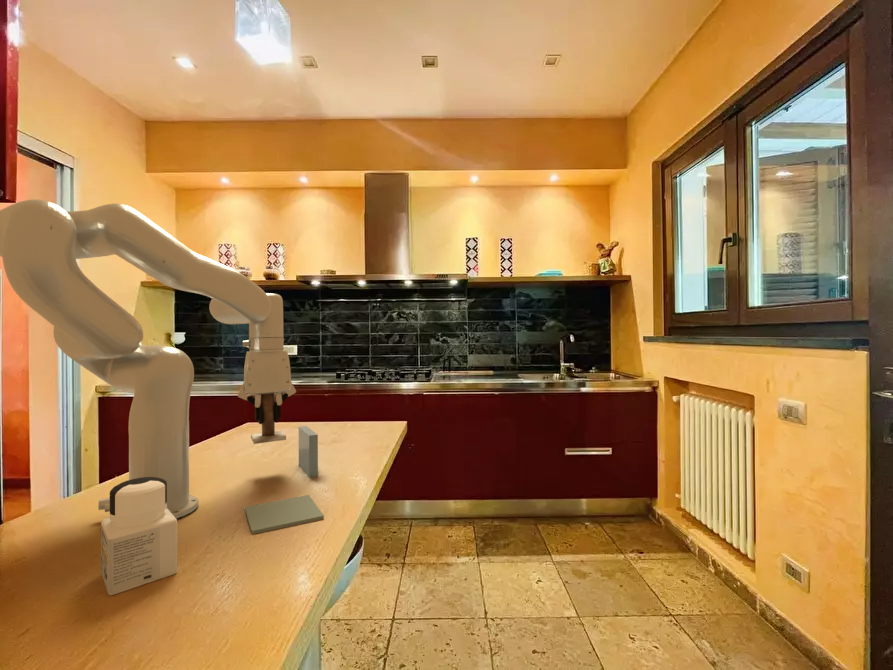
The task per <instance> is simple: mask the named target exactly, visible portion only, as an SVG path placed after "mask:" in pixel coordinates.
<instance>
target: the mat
mask: <svg viewBox="0 0 893 670" xmlns="http://www.w3.org/2000/svg"><path fill="white" fill-rule="evenodd" d="M244 512H245V516H246V518H247V519H246V520H247V522H248V525H249V529H250V533H251V535H255V534H261V533H265V532H269V531H274V530H278V529H285V528H288V527H293V526H297V525H301V524H306V523H307V524H308V523H311V522H316V521H320V520H321V521H322V520H324V518H325V515H324V514H323V513H322V511H321V510H320V508H319V507H318V506H317V504H316V503H315V501H314V500H313V499H312V497H311V496H310V495H309V494H307V495H302V496H295V497H290V498H285V499H279V500H274V501H268V502H263V503H258V504H252V505H248V506H244Z"/></svg>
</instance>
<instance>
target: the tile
mask: <svg viewBox="0 0 893 670" xmlns="http://www.w3.org/2000/svg"><path fill="white" fill-rule="evenodd" d="M318 438H319V435H318V433H316V432H315V431H314V430H312V429H311V427H309V426H307V425H301V426H298V466H299V467H300V469H301V470H302V469H303V470H302V471H303V472H304V473H305V475H306V474H307V475H306V476H307V477H308V478H309V479H310V478H316V477H317V478H318V477H319V452H318V451H319V439H318Z"/></svg>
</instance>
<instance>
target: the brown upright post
mask: <svg viewBox="0 0 893 670" xmlns="http://www.w3.org/2000/svg"><path fill="white" fill-rule="evenodd" d="M274 402H275V396H274V393H270V394H261V402H260V404H261V406H262V407H263V423H262V424H261V432H260V433H251V434H250V439H251V441H252V443H253V444H254V445H256V444H265V443H272V442H280V441H286V440H287V435H286V434H285V432H284V431H282V430H276V429H275V428H276V425H275V423H276V422H274ZM275 430H276V431H275Z"/></svg>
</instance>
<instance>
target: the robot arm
mask: <svg viewBox="0 0 893 670" xmlns="http://www.w3.org/2000/svg"><path fill="white" fill-rule="evenodd" d="M113 255H114V256H115V255H116V256H118V257H119V258H120V259H123V260H124V261H125V262H127V263H129V264H130V265H131V266H134V267H135V268H137V269H138V270H140V271H142V272H143V273H145V274H146V275H148V276H149V277H151V278H153V279H154V280H156V281H158V282H159V283H161V284H162V285H164V286H165V287H169V288H172V289H176V290H179V291H183V292H187V293H192V294H193V293H194V294H197V295H198V294H199V295H202V296H205V297H207V298H210V299H211V300H210V302H209V309H208V310H209V313H210V314H211V316H212V317H213V319H215V320H216V321H217V322H219V323H222V324H225V325H241V324H243V325H245V324H248V335H249V337H248V339H247V340H243V341H242V347H243V348H245V347H246V348H248V349H249V351H246V354H245V358H244V359H245V360H244V365H243V366H244V368H243V370H244V371H243V384H242V386H241V387H240V389H239V391H238V393H237V397H238V398H240V399H242V400H244V401H248V402H249V403H250V404H252V405H253V406H254V413H255V414H254V417H255V421H257V423H258V424H259V425H262V423H263V407H262V405H261V394H270V393H274V422H275V423H279V419H281V414H282V412H281V411H282V409H281V408H282V407H281V406H282V404H283V403H284V402H285V401H286V400H287V399H288V398H289V397H291V396H292V395H294V394H296V393H297V390H296V388H295V386H294V385H293V383H292V374H291V364H290V363H291V362H290V357H289V353H288V350H284V342H285V341H284V340H285V339H284V302H283V301H284V300H283V297H282V296H281V295H280V294H278V293H271V292H270V293H269V292H265V291H264V289H262V288H261V287H260V286H259V285H258V284H256V283H255V282H254V281H252V279H249V278H248V277H247V276H245V275H244V274H242V273H241V272H239V271H237V270H235V269H233V268H232V267H230V266H227V265H225V264H222V263H220V262H218V261H216V260H214V259H211V258H209V257H207V256H204V255H202V254H199V253H197V252H195V251H194V250H193V249H191V248H189V247H188V246H186V245H185V244H184V243H183V242H182V241H179V240H178V239H176V238H175V237H174V236H173V235H172V234H170V233H168V232H167V231H166V230H165V229H164V228H162V227H160V226H159V225H158V224H156V223H155V222H153V221H152V220H151V219H150V218H148V217H147V216H145V215H144V214H143V213H141V212H139V211H138V210H137V209H135V208H133V207H131V206H129V205H127V204H122V203H118V202H117V203H108V204H103V205H99V206H96V207H94V208H91V209H87V210H75V211H74V210H72V211H71V210H70V211H69V210H68V211H66V210H65V209H64V207H61V206H60V205H58V204H57V203H54V202H52V201H48V200H45V199H26V200H21V201H18V202H15V203H12V204H10V205H8V206H6V207H4V208H2V209H0V257H1V258H2V264H3V267H4V272H5V274H6V278H7V280H8V282H9V285H10V286H11V288H12V289H13V291H14V292H15V294H16V295H18V297H19V298H20V299H21V301H23V302H24V303H25V304H26V305H27V306H28V307H29V308H31V309H32V310H33V311H34V312H36V313H37V314H38V315H40V316H41V317H42V318H43V319H45V321H47V322H49V324H50V325H53V330H52V331H53V339H54V342H55V343H56V345H57V346H58V348H59V349H60V350H61V352H63V354H64V355H66V356H67V357H69V358H70V359H71V360H72V361H74V362H75V363H77V364H79V365H80V366H81V367H83V368H84V369H85V370H86V371H89V372H90V373H92V374H93V375H95V376H96V377H97V378H99V379H100V380H102V381H103V382H105V383H106V384H108V385H110V386H111V387H113V388H115V389H117V390H119V391H121V392H125V393H129V394H133V398H132V402H131V406H130V410H129V414H128V415H129V416H128V480H131V479H136V478H142V477H157V478H162V479H164V480H165V481H166V482H167V509H168V510H169V511H170V512H171V513H172V514H173V516H174V517H175V518H176V519H177V520H178V519H179V518H182V517H185V516H187V515H189V514H190V513H192V512H194V511H195V510H196V509H197V508H198V506H199V499H198V497H197V496H195V495H192V494H190V419H189V418H190V400H191V394H192V389H193V384H194V378H195V367H194V364H193V361H192V360H191V358H190V357H189V355H187V353H185V352H184V351H183V350H181V349H179V348H176V347H173V346H169V345H157V344H156V345H155V344H153V345H152V344H151V345H144V344H142V343H143V341H144V330H143V327H142V326H141V324H140V322H139V321H138V320H137V319H136V318H135V317H134V315H132V314H131V313H129V312H128V311H127V310H126V309H125V308H124V307H122V306H121V305H120V304H118V302H116V301H114V300H113V298H112V297H110V296H109V295H107V294H106V293H105V292H104V291H102V290H101V289H100V288H99V287H98V286H97V285H96V284H95V283H93V282H92V281H91V279H89V278H88V277H87V276H86V275H85V274H84V272H83V271H82V270H81V268H80V267H79V264H78V262H77V260H81V259H82V260H83V259H91V258H100V257H101V258H103V257H108V256H113ZM252 395H253V396H252ZM103 510H104V513H107V512H109V513H110V497H107V498H106V497H105V498H100V499H99V500H98V511H103Z"/></svg>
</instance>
